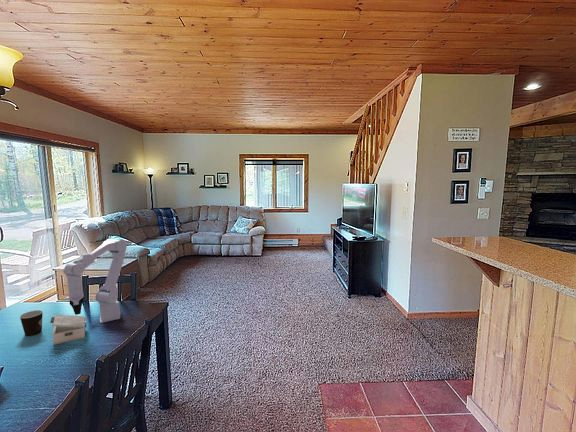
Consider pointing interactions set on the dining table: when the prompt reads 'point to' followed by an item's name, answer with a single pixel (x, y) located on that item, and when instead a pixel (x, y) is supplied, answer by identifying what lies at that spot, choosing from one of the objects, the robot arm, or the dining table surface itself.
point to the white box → (68, 334)
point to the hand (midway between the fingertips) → (77, 313)
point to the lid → (68, 321)
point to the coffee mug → (32, 322)
